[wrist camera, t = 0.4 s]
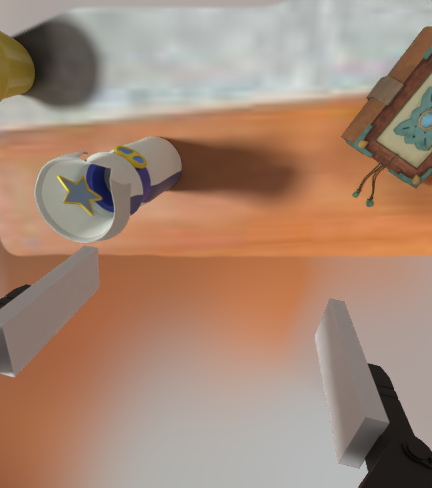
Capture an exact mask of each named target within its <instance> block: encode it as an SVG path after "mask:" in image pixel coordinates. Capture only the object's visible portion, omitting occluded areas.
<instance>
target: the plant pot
mask: <svg viewBox="0 0 432 488" xmlns="http://www.w3.org/2000/svg"><path fill="white" fill-rule="evenodd" d="M34 79H35V68H34V64H33V61H32V59H31V56H30V55H29V53H28V52H27V50H26V49H25V48H24V47H23V46H22V45H21V44H20V43H19V42H18V41H16V40H15V39H13V38H11V37H10V36H8V35H6V34H4V33H2V32H1V31H0V101H2V99H4V98H8V97H11V96H15V95H19V94H22V93H25V92H27V91H28V90H29V89H30V88H31V87H32V85H33V83H34Z"/></svg>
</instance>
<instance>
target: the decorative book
mask: <svg viewBox="0 0 432 488" xmlns="http://www.w3.org/2000/svg"><path fill="white" fill-rule="evenodd" d="M366 98H367V99H368V102H367V103H366V104H365V106H364V107H363V108H362V110H361V111H360V112H359V114H358V115H357V116H356V118H355V119H354V120H353V121H352V123H351V124H350V125H349V127H348V128H347V129H346V131H345V132H344V133H343V135H342V136H341V137H342V138H344V139H345V140H346V143H347V144H349V145H350V146H352V147H353V148H355V149H356V150H358V151H359V152H361V153H362V154H365V155H367V156H368V157H371V158H373V159H374V160H376V161H377V162H379V164H378V165H377V166H376V167H375V168H374V169H373V170H372V171H371V172H370V173H369V174H371V173H372V172H373V171H374V170H375V169H376V168H377V167H378V166H379V165H380V164H382V165H381V167H380V168H379V169H378V170H377V171H376V172H375V174H376V173H377V172H378V171H379V170H380V169H381V168H383V167H386V168H388V170H387V171H389V172H390V173H392V174H393V175H395V176H396V177H398V178H399V179H401V180H402V181H404V182H405V183H408V184H410V185H411V186H412V187H414V188H417V187H418V186H419V185H420V184H421V183H422V182H423V181H424V180H425V179H426V178H427V177H428V176H429V175H430V174H431V172H432V27H425V28H423V29H422V31H421V32H420V33H419V35H418V36H417V37H416V39H415V40H414V41H413V43H412V44H411V45H410V47H409V48H408V49H407V50H406V52H405V53H404V54H403V56H402V57H401V58H400V60H399V61H398V62H397V64H396V65H395V66H394V68H393V69H392V70H391V71H390V73H389V74H388V75H387V76H386V77H383V78H381V79H380V80H379V82H378V83H377V84H376V86H375V87H374V88H373V90H372V91H371V92H370V93H369V95H368V96H367V97H366ZM369 174H368V175H369ZM375 174H374V176H375ZM368 175H367V176H368ZM367 176H366V177H367ZM374 176H373V180H372V187H373V190H372V195H373V193H374V185H373V183H374ZM366 177H365V178H366ZM365 178H364V179H363V181H364V180H365ZM363 181H362V182H361V184H360V187H361V185H362V183H363ZM360 187H359V189H357V191H356V192H354V193H353V197H355V198H356V197H357V196H358V195H359V193H360ZM358 192H359V193H358ZM372 195H371V196H369V197H370V199H367V202H366V205H367V206H368V207H371V206H373V201H372V199H373V198H372ZM371 198H372V199H371ZM368 201H369V203H368Z"/></svg>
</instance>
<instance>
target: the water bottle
mask: <svg viewBox="0 0 432 488" xmlns="http://www.w3.org/2000/svg"><path fill="white" fill-rule="evenodd" d="M82 154H89V153H87V152H78V153H71V154H66V155H63V156H60V157H58V158H55V159H53V160H51V161H49V162H48V163H46V164H45V165H44V166H43V167H42V169H41V170H40V173H39V175H38V178H37V181H36V185H35V200H36V204H37V207H38V209H39V211H40V213H41V215H42V217H43V218H44V220H45V221H46V222H47V223H48V224H49V226H50V227H51V228H52V229H54V230H55V231H56V232H57V233H59V234H60V235H62V236H63V237H65V238H67V239H70V240H72V241H76V242H82V243H89V242H95V241H102V240H107V239H110V238H112V237H114V236H116V235H117V234H119V233H120V232H121V231H122V230H123V229H124V227H125V226H126V224H127V222H128V220H129V216H131V215H132V214H134V213H135V212H136V211H137V210H138V208H139V207H140V206H142V205H144V204H146V203H148V202H150V201H151V200H153V199H154V198H155V197H157V196H158V195H160V194H161V193H163V192H164V191H166V190H168V189H169V188H171V187H173V186H174V185H175V184H176V183H177V181H178V180H179V178H180V175H181V170H182V164H181V159H180V156H179V153H178V152H177V150H176V148H175V147H174V146H173V145H172V144H171V143H170V142H169V141H167V140H165V139H163V138H160V137H155V136H151V137H146V138H143V139H141V140H139V141H136V142H133V143H130V144H127V145H123V146H116V147H115V148H114V150H112V151H110V152H100V153H96V154H93V155H91V156H90V157H88V158H87V159H86V160H85V161H83V160H80V159H79V156H80V155H82Z"/></svg>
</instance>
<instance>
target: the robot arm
mask: <svg viewBox="0 0 432 488" xmlns="http://www.w3.org/2000/svg"><path fill="white" fill-rule="evenodd" d="M98 289H99V271H98V248H94V247H89V246H84V247H82V248H81V249H80V250H78V251H77V252H76V253H74V254H73V255H72V256H70V257H69V258H68V259H66V260H65V261H64V262H62V263H61V264H60V265H58V266H57V267H56V268H54V269H53V270H52V271H50V272H49V273H48V274H46V275H45V276H44V277H42V278H41V279H40V280H39V281H37V282H36V283H34V284H33V285H32V286H31V285H24V286H21V287H19V288H16V289H14V290H13V291H11V292H10V293H8V294H7V295H6V296H5V297H4V298H1V299H0V374H4V375H8V376H12V377H15V376H16V375H17V374H18V373H19V372H20V371H21V370H22V369H23V368H24V367H25V366H26V365H27V364H28V363H29V361H30V360H31V359H32V358H33V357H34V356H35V355H36V354H37V353H38V352H39V351H40V350H41V349H42V348H43V347H44V345H45V344H46V343H47V342H48V341H49V340H50V339H51V338H52V337H53V336H54V335H55V334H56V333H57V332H58V331H59V330H60V329H61V327H63V326H64V324H65V323H66V322H67V321H68V320H69V319H70V318H71V317H72V316H73V315H74V314H75V313H76V312H77V311H78V310H79V309H80V308H81V307H82V305H83V304H84V303H85V302H86V301H87V300H88V299H89V298H90V297H91V296H92V295H93V294H94V293H95V291H97V290H98ZM315 342H316V347H317V353H318V358H319V364H320V369H321V374H322V380H323V385H324V390H325V396H326V401H327V407H328V412H329V417H330V422H331V428H332V433H333V439H334V444H335V450H336V455H337V460H338V463H339V464H343V465H347V466H351V467H354V468H358V469H359V468H360V467H361V465H362V464H363V462H364V461H366V465H367V469H368V474H367V475H366V477H365V478H364V480H363V481H362V482H361V484H360V485H359V487H358V488H432V451H431V450H430V449H429V447H428V446H427V445H426V444H425V443H424V442H422V441H421V440H420V439H418V438H417V437H415V435H414V433H413V431H412V429H411V426H410V424H409V422H408V419H407V417H406V415H405V412H404V410H403V408H402V406H401V403H400V401H399V400H398V397H397V394H396V392H395V391H394V387H393V385H392V382H391V380H390V378H389V377H388V375H387V374H386V373H385V372H384V370H383V369H382V368H381V367H380V366H377V365H373V364H368V363H367V362H366V359H365V356H364V353H363V350H362V348H361V345H360V343H359V340H358V337H357V335H356V332H355V329H354V327H353V324H352V321H351V318H350V316H349V313H348V310H347V307H346V305H345V302H344V301H339V300H334V299H329V302H328V304H327V307H326V309H325V312H324V315H323V317H322V319H321V322H320V325H319V327H318V330H317V332H316V335H315Z"/></svg>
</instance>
